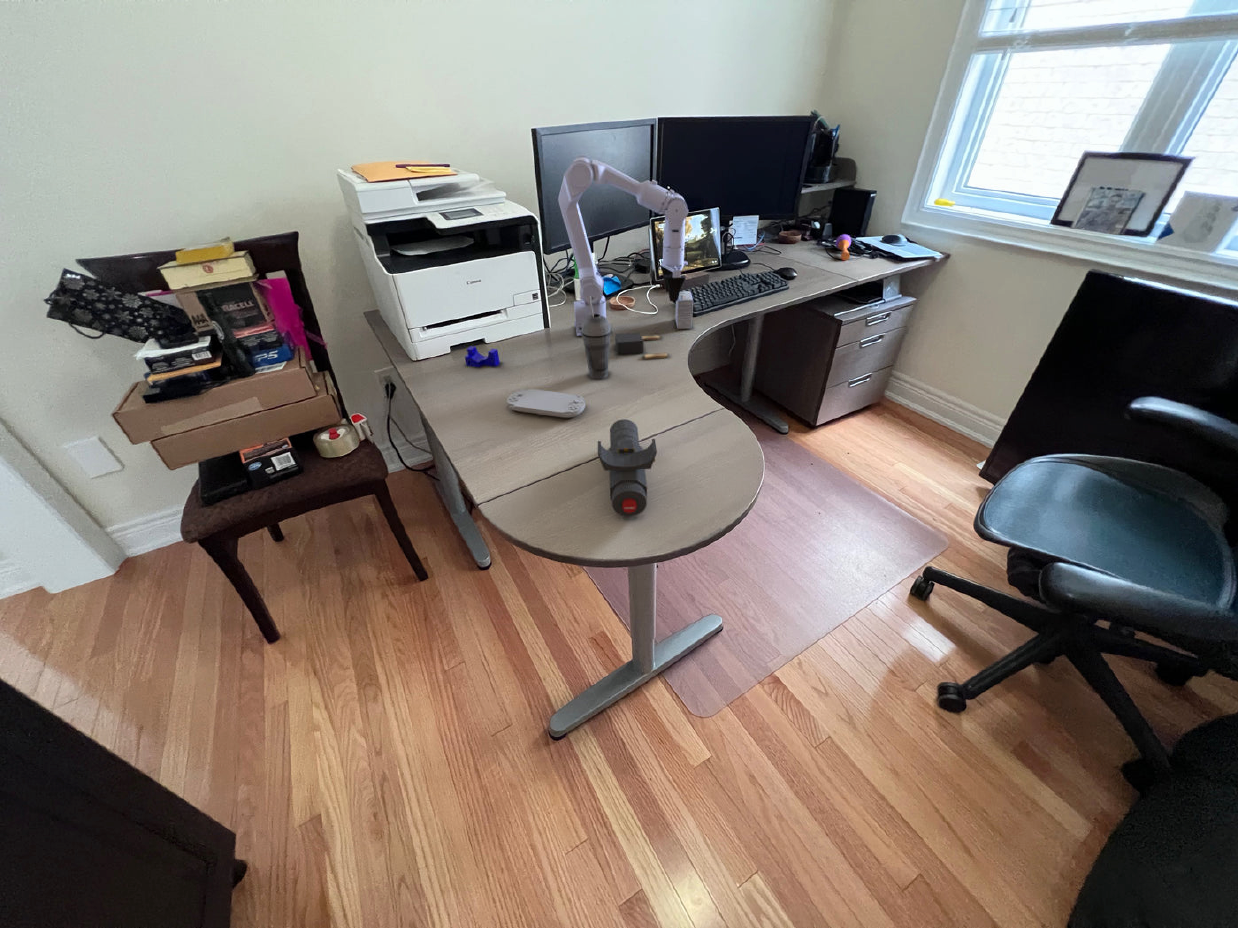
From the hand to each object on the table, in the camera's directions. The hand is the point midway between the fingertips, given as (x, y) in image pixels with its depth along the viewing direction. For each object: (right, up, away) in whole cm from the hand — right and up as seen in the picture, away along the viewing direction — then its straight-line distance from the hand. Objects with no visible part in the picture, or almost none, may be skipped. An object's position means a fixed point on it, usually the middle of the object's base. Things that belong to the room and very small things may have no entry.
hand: (671, 296), depth 141 cm
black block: (-12, -16, -5) cm, 21 cm away
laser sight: (-14, -51, -49) cm, 72 cm away
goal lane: (-6, -16, -4) cm, 17 cm away
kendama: (+78, +39, +63) cm, 108 cm away
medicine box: (+4, -6, +8) cm, 11 cm away
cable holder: (-51, -22, -10) cm, 57 cm away
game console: (-32, -35, -28) cm, 55 cm away
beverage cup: (-20, -26, -16) cm, 37 cm away
